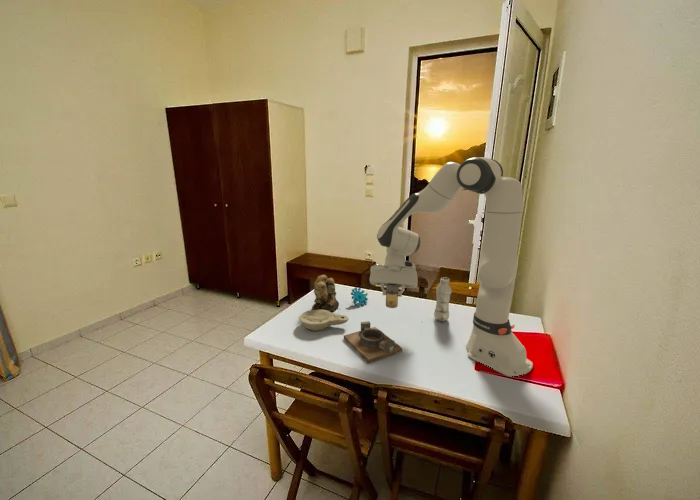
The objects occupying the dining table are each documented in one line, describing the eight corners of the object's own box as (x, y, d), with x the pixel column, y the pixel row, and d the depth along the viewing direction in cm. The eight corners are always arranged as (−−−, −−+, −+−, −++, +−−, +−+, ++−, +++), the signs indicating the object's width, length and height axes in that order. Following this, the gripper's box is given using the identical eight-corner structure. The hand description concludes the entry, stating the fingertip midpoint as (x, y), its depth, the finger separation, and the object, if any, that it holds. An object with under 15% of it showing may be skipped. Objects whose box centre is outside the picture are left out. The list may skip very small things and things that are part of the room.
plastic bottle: (451, 321, 137) (456, 280, 132) (439, 324, 135) (443, 282, 130) (442, 315, 143) (446, 275, 138) (430, 317, 140) (434, 277, 135)
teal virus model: (357, 305, 148) (349, 287, 152) (350, 311, 152) (342, 293, 156) (373, 302, 155) (365, 285, 159) (366, 307, 159) (358, 290, 163)
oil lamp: (348, 318, 139) (349, 308, 137) (348, 335, 125) (348, 324, 124) (302, 317, 139) (302, 307, 138) (297, 334, 125) (296, 323, 124)
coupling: (400, 306, 127) (401, 286, 125) (390, 309, 125) (391, 288, 123) (392, 302, 131) (393, 282, 129) (383, 304, 129) (384, 284, 127)
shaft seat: (402, 352, 114) (403, 339, 113) (369, 363, 107) (369, 351, 106) (374, 329, 130) (374, 318, 129) (343, 338, 123) (343, 326, 121)
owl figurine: (329, 318, 139) (328, 283, 135) (305, 314, 143) (304, 279, 139) (343, 302, 156) (343, 270, 151) (322, 299, 159) (321, 268, 155)
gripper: (370, 260, 132) (366, 290, 126) (418, 264, 128) (417, 294, 122) (371, 267, 138) (367, 296, 131) (418, 270, 134) (416, 300, 127)
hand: (392, 295), depth 126 cm, fingers closed on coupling, 5 cm apart
